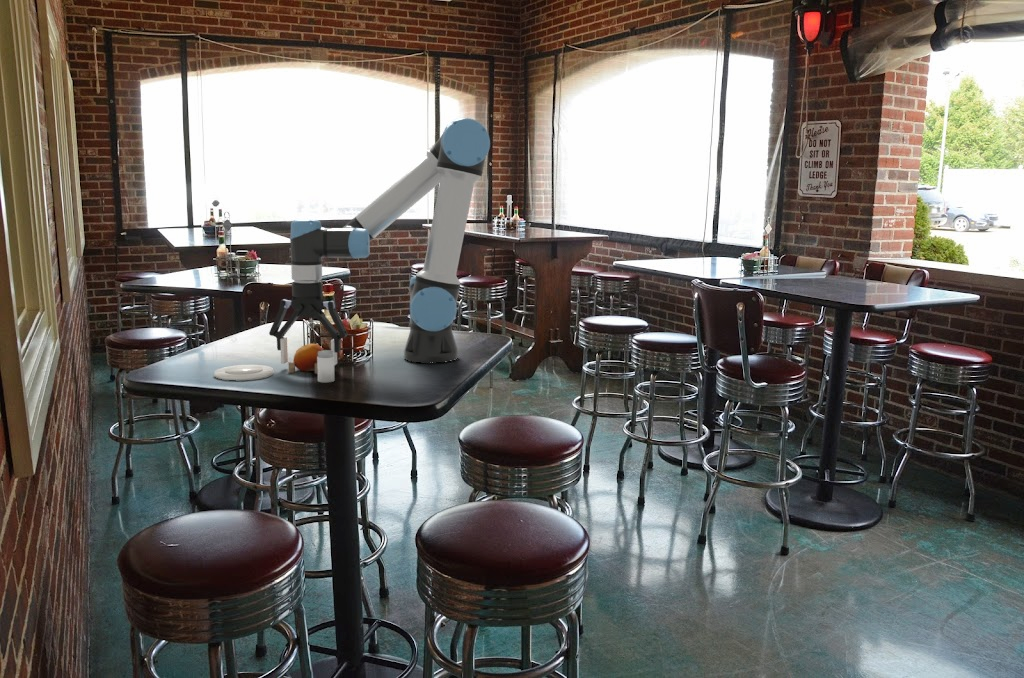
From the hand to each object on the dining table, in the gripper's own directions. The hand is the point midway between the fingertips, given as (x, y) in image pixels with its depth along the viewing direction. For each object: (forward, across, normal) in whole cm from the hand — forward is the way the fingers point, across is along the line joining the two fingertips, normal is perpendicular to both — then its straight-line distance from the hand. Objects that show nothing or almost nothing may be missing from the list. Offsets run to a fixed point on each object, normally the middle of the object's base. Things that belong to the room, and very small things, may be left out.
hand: (309, 363), depth 209 cm
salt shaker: (+2, -8, +11) cm, 14 cm away
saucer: (+2, +14, +8) cm, 16 cm away
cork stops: (+2, 0, 0) cm, 2 cm away
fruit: (+2, 0, 0) cm, 2 cm away
